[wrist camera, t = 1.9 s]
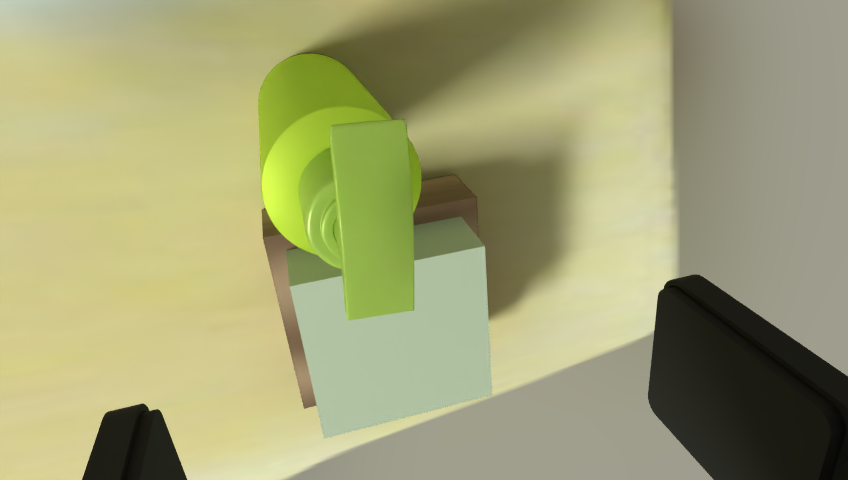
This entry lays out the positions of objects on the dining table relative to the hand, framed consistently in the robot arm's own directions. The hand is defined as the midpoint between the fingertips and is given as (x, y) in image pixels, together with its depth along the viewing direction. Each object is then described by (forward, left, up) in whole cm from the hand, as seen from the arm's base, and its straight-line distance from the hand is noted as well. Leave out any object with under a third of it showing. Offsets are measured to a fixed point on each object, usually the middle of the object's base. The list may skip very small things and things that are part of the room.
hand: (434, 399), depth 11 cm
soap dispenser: (0, 0, -25) cm, 25 cm away
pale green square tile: (+12, +2, -21) cm, 24 cm away
